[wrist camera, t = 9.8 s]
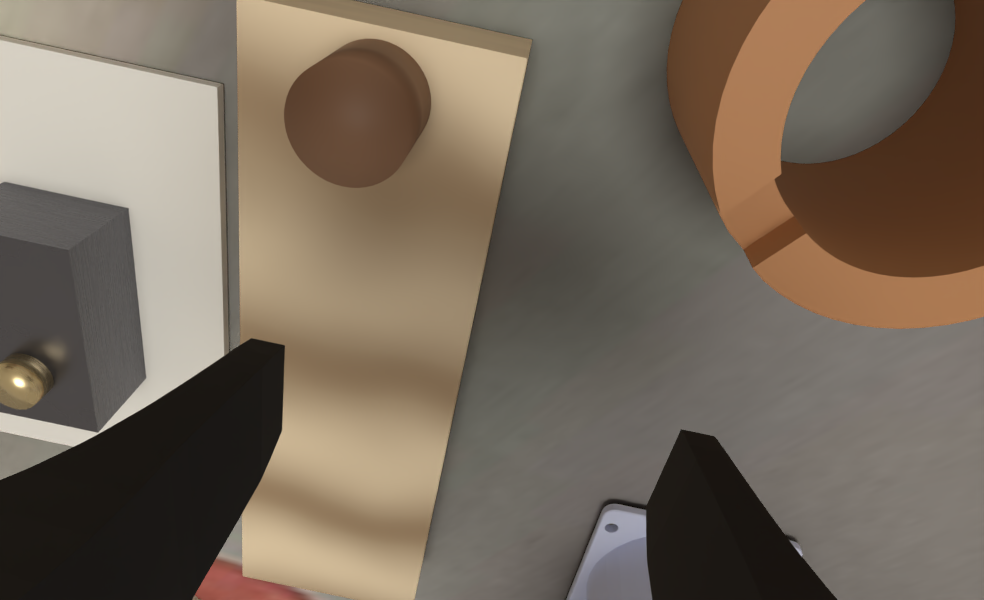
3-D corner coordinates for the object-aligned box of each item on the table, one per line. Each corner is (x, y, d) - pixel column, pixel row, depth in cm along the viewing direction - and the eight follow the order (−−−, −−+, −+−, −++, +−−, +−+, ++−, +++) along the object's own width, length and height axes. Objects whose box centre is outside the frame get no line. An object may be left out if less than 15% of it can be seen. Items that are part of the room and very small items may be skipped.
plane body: (423, 559, 29) (398, 671, 25) (266, 526, 29) (214, 634, 25) (532, 39, 18) (521, 82, 14) (276, -17, 18) (184, 8, 14)
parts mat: (231, 471, 28) (227, 478, 27) (-8, 421, 28) (-15, 428, 27) (223, 84, 19) (216, 87, 19) (-119, 9, 19) (-131, 11, 19)
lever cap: (146, 378, 25) (83, 449, 22) (40, 355, 25) (-39, 423, 22) (128, 208, 21) (49, 263, 18) (4, 181, 21) (-97, 232, 18)
